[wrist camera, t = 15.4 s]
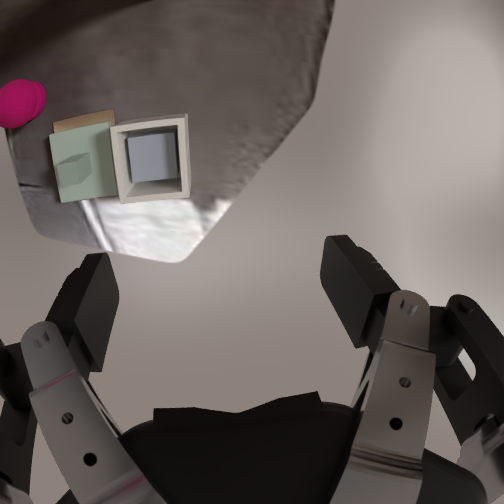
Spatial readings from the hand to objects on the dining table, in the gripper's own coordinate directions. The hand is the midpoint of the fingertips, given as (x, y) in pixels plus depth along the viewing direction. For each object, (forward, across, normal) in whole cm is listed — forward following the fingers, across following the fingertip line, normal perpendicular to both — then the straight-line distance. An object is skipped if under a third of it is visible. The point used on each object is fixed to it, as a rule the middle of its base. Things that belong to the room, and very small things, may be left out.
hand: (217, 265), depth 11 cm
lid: (+33, +18, +2) cm, 37 cm away
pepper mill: (+33, +27, -10) cm, 44 cm away
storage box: (+33, +7, +2) cm, 34 cm away
